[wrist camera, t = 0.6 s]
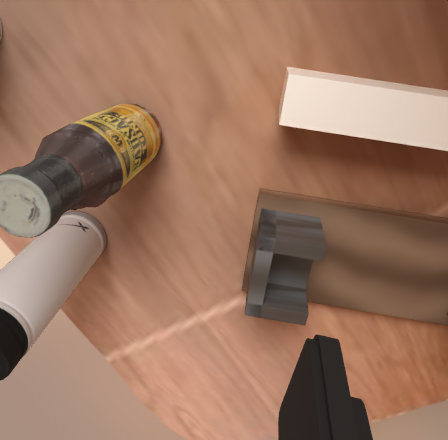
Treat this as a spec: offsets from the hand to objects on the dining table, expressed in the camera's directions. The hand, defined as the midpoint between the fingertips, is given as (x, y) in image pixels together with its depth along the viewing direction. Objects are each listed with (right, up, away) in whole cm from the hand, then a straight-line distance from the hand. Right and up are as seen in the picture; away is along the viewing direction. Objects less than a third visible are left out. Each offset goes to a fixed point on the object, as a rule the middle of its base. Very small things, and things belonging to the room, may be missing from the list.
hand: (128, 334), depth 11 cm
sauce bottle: (-7, +12, +30) cm, 33 cm away
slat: (+19, +13, +26) cm, 35 cm away
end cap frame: (+20, -1, +33) cm, 39 cm away
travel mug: (-14, +2, +36) cm, 39 cm away
